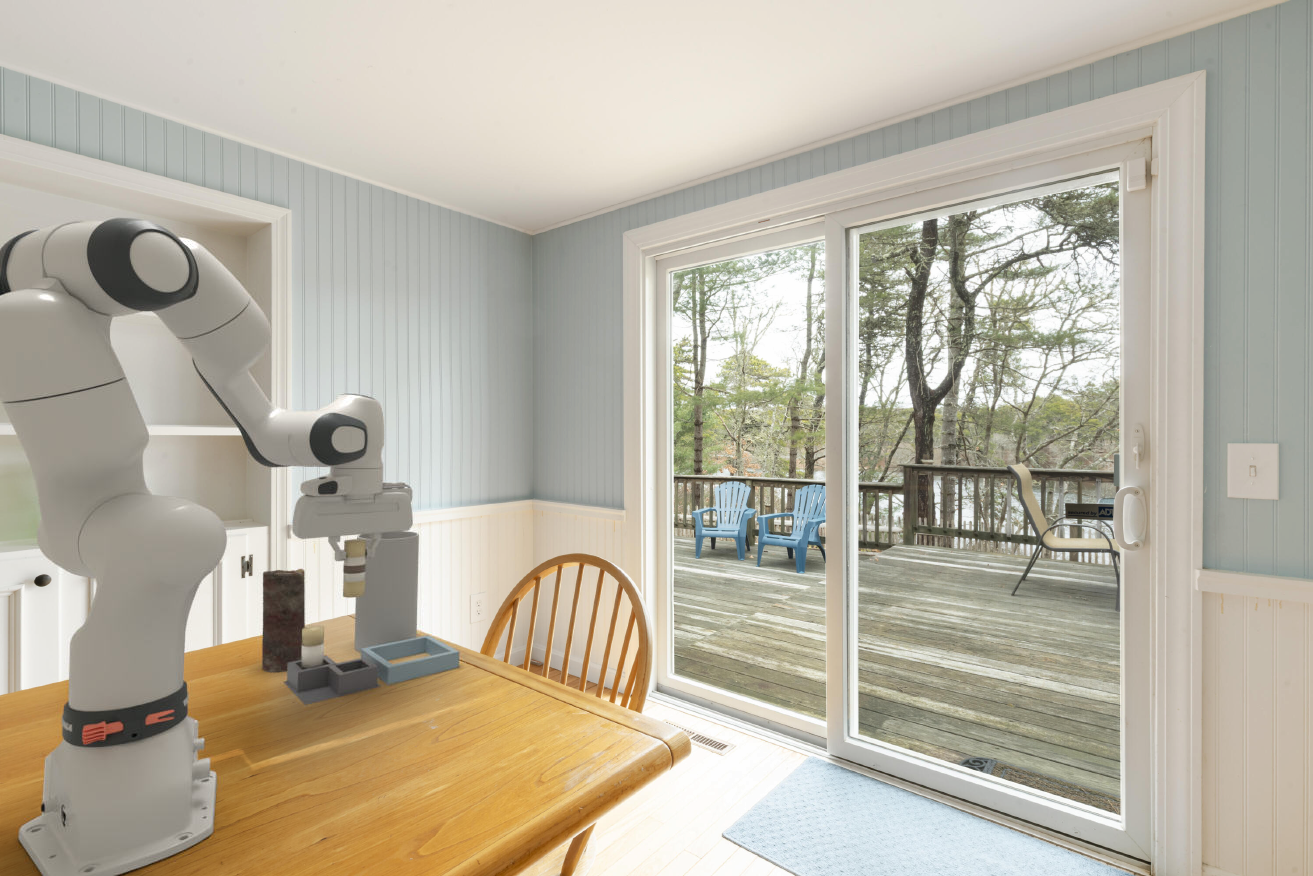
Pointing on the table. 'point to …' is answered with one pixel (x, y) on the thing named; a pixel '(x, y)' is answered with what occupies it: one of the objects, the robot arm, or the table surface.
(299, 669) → the fuse holder
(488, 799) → the table surface
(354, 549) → the fuse
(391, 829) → the table surface
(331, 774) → the table surface
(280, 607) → the candle
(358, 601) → the cylinder vase
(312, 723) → the table surface
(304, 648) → the cylinder
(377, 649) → the parts tray
